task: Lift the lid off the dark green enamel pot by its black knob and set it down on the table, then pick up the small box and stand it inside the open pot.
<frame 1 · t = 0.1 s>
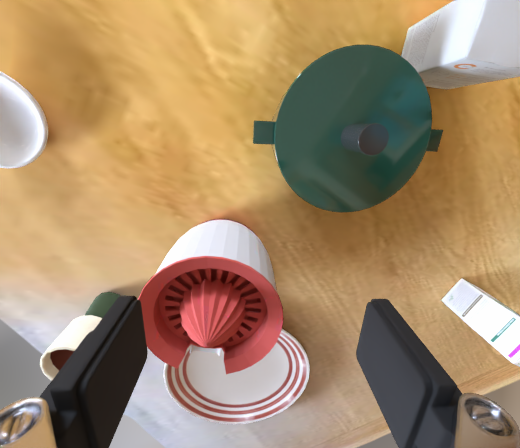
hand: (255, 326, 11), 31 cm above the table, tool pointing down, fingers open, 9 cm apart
citrus juicer: (223, 255, 45), on the table
syrup box: (460, 293, 50), on the table
dinner plate: (238, 363, 53), on the table
lid: (351, 136, 29), point 9 cm above the table, touching pot
pot: (327, 134, 38), on the table
character mug: (115, 303, 47), on the table
small box: (427, 60, 36), on the table
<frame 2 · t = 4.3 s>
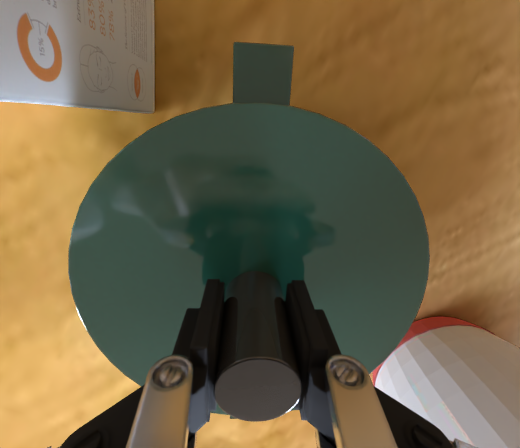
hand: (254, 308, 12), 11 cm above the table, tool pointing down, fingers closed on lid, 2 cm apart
citrus juicer: (430, 357, 29), on the table
lid: (254, 288, 14), point 10 cm above the table, touching gripper, pot
pot: (251, 223, 22), on the table
small box: (108, 43, 18), on the table
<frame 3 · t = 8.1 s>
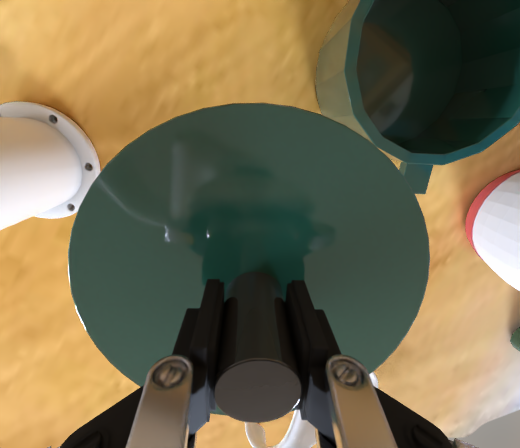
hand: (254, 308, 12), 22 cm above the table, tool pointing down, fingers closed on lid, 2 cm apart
citrus juicer: (511, 214, 35), on the table
lid: (254, 289, 14), point 20 cm above the table, touching gripper
pot: (390, 75, 29), on the table
spoon rest: (304, 389, 45), on the table
when the fingers open (2 cm above the table, at t = 11.9 s): lid stays where it is, point 1 cm above the table.
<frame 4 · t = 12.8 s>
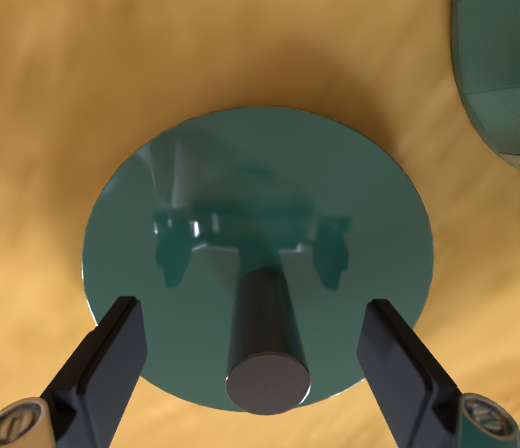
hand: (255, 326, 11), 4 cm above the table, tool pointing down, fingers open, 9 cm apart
lid: (261, 287, 14), point 1 cm above the table
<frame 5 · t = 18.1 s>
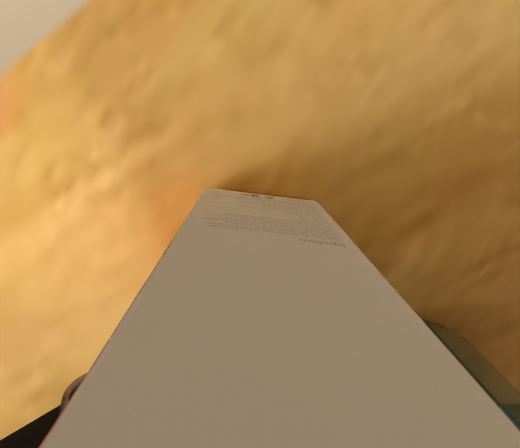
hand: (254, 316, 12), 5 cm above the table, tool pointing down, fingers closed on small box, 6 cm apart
pot: (375, 401, 21), on the table
small box: (253, 256, 16), on the table, touching gripper
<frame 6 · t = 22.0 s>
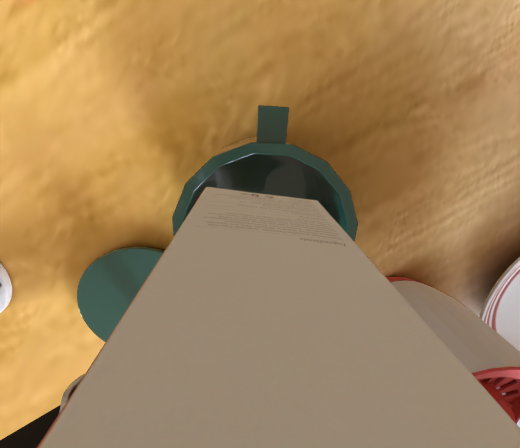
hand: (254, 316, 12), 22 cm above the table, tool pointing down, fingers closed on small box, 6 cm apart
citrus juicer: (391, 309, 39), on the table
lid: (146, 303, 36), point 1 cm above the table
pot: (260, 206, 33), on the table
small box: (253, 255, 16), point 17 cm above the table, touching gripper
when the fingers open (5 cm above the table, at t = 26.2 s): small box stays where it is, resting on pot.
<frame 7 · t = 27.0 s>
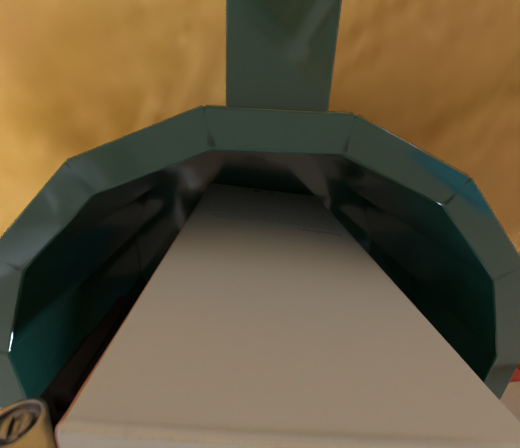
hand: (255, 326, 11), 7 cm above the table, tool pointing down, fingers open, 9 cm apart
citrus juicer: (473, 408, 24), on the table
pot: (255, 252, 17), on the table
small box: (255, 249, 17), resting on pot
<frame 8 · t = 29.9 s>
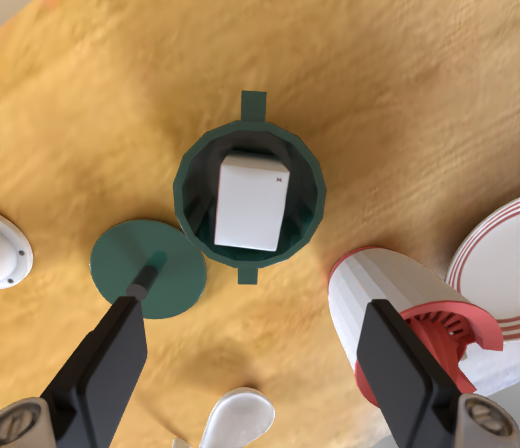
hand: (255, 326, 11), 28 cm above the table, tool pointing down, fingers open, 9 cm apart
citrus juicer: (367, 277, 44), on the table
dinner plate: (511, 264, 44), on the table
lid: (150, 271, 41), point 1 cm above the table
pot: (249, 183, 37), on the table
small box: (249, 181, 37), resting on pot
spoon rest: (222, 412, 54), on the table
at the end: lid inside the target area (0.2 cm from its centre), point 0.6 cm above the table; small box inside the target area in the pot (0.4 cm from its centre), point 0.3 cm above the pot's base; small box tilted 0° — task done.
